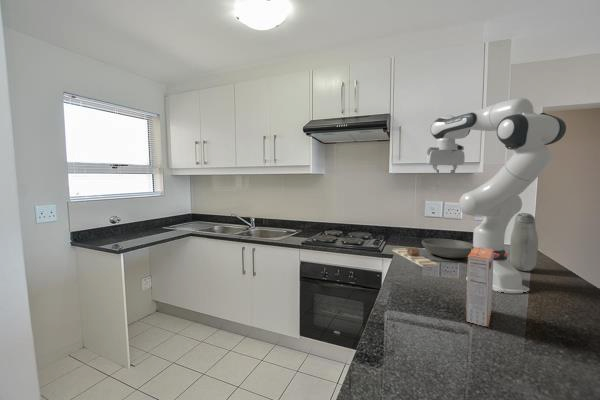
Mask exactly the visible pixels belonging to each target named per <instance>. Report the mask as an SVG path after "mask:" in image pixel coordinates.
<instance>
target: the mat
mask: <svg viewBox="0 0 600 400" xmlns="http://www.w3.org/2000/svg"><path fill="white" fill-rule="evenodd" d="M391 251H392V252H394V253H395V254H397V255H400V256H401V257H403V258H405V259H407V260H409V261H410V262H412V263H414V264H416V265H418V266H419V267H423V266H422V265H420V264H418V263H416V262H414V261H412V260H411V259H409V258H407V257H405V256H403V255H401V254H399V253H397V252H396V251H394V250H393V249H391ZM439 266H440V265H439V264H437V266H436V267H439Z"/></svg>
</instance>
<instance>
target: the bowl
mask: <svg viewBox="0 0 600 400" xmlns="http://www.w3.org/2000/svg"><path fill="white" fill-rule="evenodd" d="M421 245H422V246H423V247H424V249H425V250H426V251H428V252H429V253H431V254H432V255H435V256H438V257H440V258H445V259H453V260H457V259H464V258H466V257H467V258H468V255H469V254H470V253H471V249H472V246H473V242H472V243H471V242H468V241H463V240H458V239H450V238H449V239H448V238H425V239H422V240H421Z"/></svg>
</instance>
